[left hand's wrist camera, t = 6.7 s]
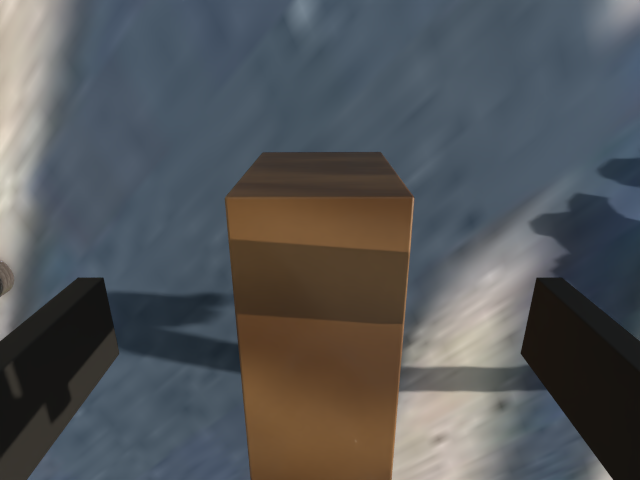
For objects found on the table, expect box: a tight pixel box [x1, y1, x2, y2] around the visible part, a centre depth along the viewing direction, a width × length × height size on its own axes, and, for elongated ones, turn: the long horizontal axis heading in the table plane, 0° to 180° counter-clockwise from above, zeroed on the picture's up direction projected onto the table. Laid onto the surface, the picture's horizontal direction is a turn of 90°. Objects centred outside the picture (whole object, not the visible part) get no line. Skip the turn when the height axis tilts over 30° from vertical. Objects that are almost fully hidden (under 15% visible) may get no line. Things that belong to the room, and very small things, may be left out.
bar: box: [225, 152, 414, 480], centre depth 23 cm, size 34×6×8 cm, turn 0°
